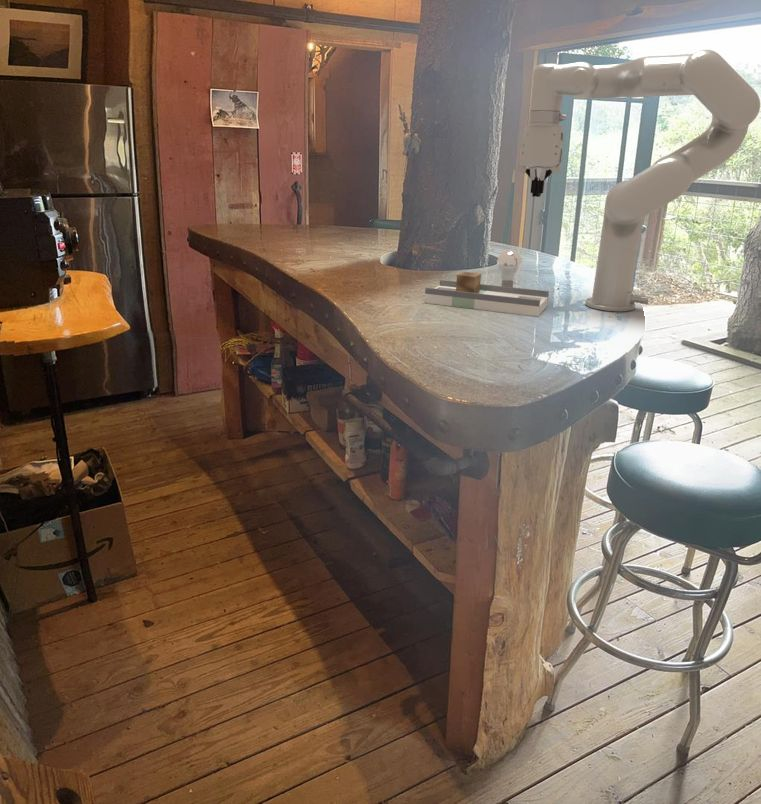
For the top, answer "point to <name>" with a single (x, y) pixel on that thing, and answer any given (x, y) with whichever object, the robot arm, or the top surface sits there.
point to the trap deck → (490, 298)
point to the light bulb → (509, 266)
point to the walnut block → (468, 282)
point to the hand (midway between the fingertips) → (536, 196)
